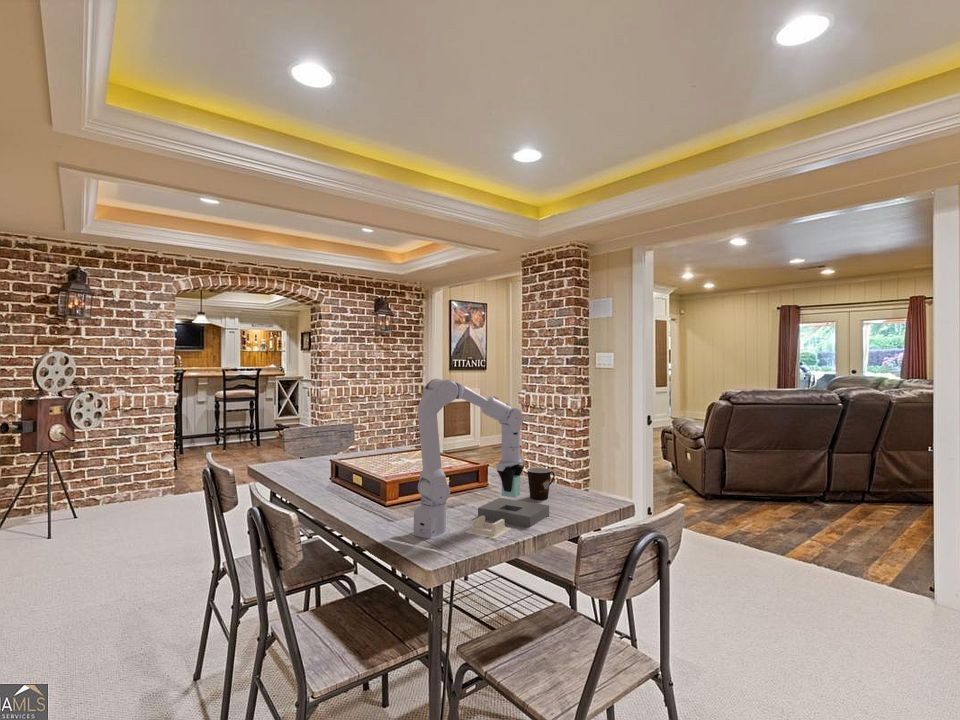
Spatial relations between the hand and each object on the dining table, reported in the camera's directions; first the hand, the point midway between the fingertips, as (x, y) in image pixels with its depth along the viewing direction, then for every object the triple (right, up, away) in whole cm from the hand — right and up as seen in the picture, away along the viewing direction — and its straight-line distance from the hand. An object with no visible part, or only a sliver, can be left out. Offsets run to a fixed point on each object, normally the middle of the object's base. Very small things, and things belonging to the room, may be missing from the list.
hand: (510, 489), depth 161 cm
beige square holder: (-7, -9, -12) cm, 16 cm away
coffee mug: (+13, -10, +26) cm, 31 cm away
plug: (0, -2, 0) cm, 2 cm away
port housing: (+1, -9, +2) cm, 10 cm away
